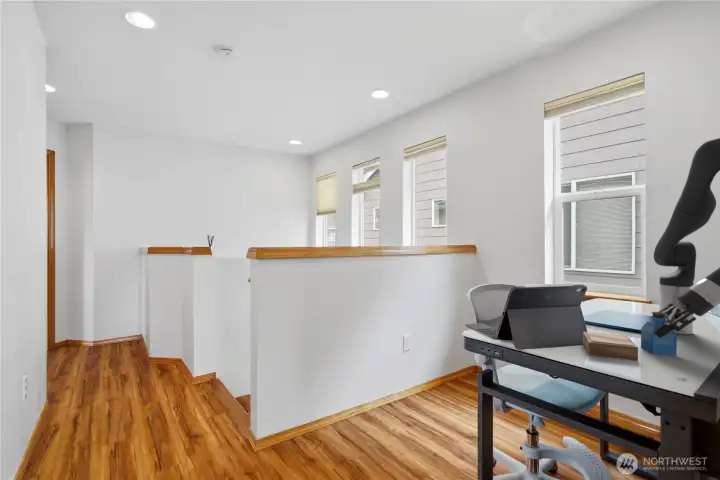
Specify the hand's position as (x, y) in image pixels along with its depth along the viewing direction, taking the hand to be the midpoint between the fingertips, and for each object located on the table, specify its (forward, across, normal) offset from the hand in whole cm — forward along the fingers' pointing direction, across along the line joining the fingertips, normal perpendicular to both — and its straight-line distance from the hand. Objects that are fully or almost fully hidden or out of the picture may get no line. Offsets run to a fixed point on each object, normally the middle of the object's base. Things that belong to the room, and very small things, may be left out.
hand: (652, 331), depth 109 cm
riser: (+13, +6, -5) cm, 15 cm away
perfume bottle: (+3, 0, +6) cm, 6 cm away
